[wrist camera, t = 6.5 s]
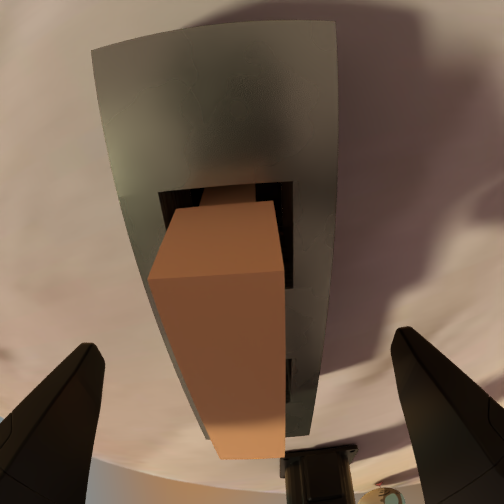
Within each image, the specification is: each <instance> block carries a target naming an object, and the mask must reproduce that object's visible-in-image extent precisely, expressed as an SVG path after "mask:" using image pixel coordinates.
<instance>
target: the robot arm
mask: <svg viewBox="0 0 504 504" xmlns="http://www.w3.org/2000/svg"><path fill="white" fill-rule="evenodd" d="M391 357H392V362H393V367H394V372H395V378H396V383H397V389H398V394H399V399H400V403H401V406H402V410H403V413H404V417H405V420H406V424H407V428H408V431H409V435H410V439H411V443H412V447H413V451H414V455H415V459H416V463H417V468H418V472H419V476H420V481H421V486H422V490H423V495H424V500H425V504H504V408H503V407H502V406H500V405H499V404H498V403H497V402H496V401H495V400H494V399H493V398H492V397H489V395H488V394H487V393H486V392H485V391H484V390H483V389H482V388H481V387H479V386H478V385H477V384H476V383H475V382H474V381H473V380H472V379H471V378H469V377H468V376H467V375H466V374H465V373H464V372H463V371H462V370H460V369H459V368H458V367H457V366H456V365H455V364H454V363H453V362H451V361H450V360H449V359H448V358H447V357H446V356H445V355H443V354H442V353H441V352H440V351H439V350H438V349H437V348H435V347H434V346H433V345H432V344H431V343H430V342H428V341H427V340H426V339H425V338H424V337H423V336H421V335H420V334H419V333H418V332H417V331H416V330H414V329H413V328H412V327H410V326H407V327H400V328H398V329H397V330H396V332H395V335H394V338H393V341H392V344H391ZM104 372H105V361H104V358H103V357H102V355H101V353H100V351H99V350H98V348H97V346H96V345H95V344H94V343H82V344H80V345H79V346H78V347H77V348H76V349H75V350H74V351H73V352H72V353H71V354H70V355H69V356H68V357H66V358H65V359H64V360H63V361H62V362H61V363H60V364H59V365H58V366H57V367H56V368H55V369H54V370H53V371H52V372H51V373H50V374H49V375H48V376H47V377H46V378H45V379H44V380H43V381H42V382H41V383H40V384H39V385H38V386H37V387H36V388H35V389H34V390H33V391H32V392H31V393H30V394H29V395H28V396H27V397H26V398H25V399H24V400H23V401H22V402H21V403H20V404H19V405H18V406H17V407H16V408H15V409H14V410H13V411H12V413H10V414H9V415H8V416H7V417H6V418H5V419H4V420H3V421H2V422H1V423H0V504H85V500H86V492H87V484H88V476H89V470H90V463H91V457H92V451H93V445H94V439H95V434H96V429H97V423H98V418H99V413H100V407H101V399H102V389H103V380H104ZM357 451H358V446H357V445H350V446H344V447H338V448H331V449H323V450H315V451H306V452H295V453H285V457H281V458H280V478H285V483H286V499H287V504H355V498H354V491H353V485H352V478H351V472H350V466H349V465H350V464H351V462H352V460H353V458H354V457H355V455H356V453H357Z"/></svg>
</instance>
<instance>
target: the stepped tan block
mask: <svg viewBox="0 0 504 504" xmlns="http://www.w3.org/2000/svg"><path fill="white" fill-rule="evenodd" d="M147 280H148V283H149V286H150V289H151V292H152V295H153V298H154V301H155V304H156V307H157V310H158V312H159V315H160V318H161V321H162V324H163V326H164V329H165V332H166V335H167V337H168V340H169V343H170V345H171V348H172V351H173V353H174V356H175V358H176V361H177V363H178V366H179V368H180V371H181V373H182V376H183V378H184V381H185V383H186V385H187V388H188V390H189V392H190V395H191V397H192V399H193V402H194V404H195V406H196V409H197V411H198V413H199V415H200V417H201V420H202V422H203V424H204V426H205V428H206V431H207V433H208V435H209V437H210V439H211V441H212V443H213V445H214V447H215V449H216V451H217V453H218V456H219V458H220V459H264V458H281V457H285V404H286V345H285V278H284V265H283V259H282V252H281V246H280V240H279V233H278V227H277V221H276V215H275V209H274V203H273V201H262V202H256V190H255V183H253V184H239V185H226V186H214V187H205V189H204V192H203V195H202V198H201V202H200V205H199V207H189V208H179V209H176V210H175V213H174V215H173V217H172V220H171V222H170V224H169V227H168V229H167V231H166V234H165V236H164V239H163V241H162V243H161V246H160V248H159V251H158V253H157V256H156V258H155V261H154V263H153V266H152V268H151V271H150V274H149V276H148V279H147Z"/></svg>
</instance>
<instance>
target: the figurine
mask: <svg viewBox="0 0 504 504" xmlns="http://www.w3.org/2000/svg"><path fill="white" fill-rule="evenodd" d="M382 483H383V482H381V483H378V484H376V485H378V486H380V485H381V484H382ZM358 504H405V499H404V497H403V495H402V494H401V493H400V492H399V491H397V490H395V489H392V488H378V489H374V490H372V491H370V492H368V493H366V494H365V495H364V496H363V497H362V498H361V499H360V500H359V502H358Z"/></svg>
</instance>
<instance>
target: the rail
mask: <svg viewBox="0 0 504 504" xmlns="http://www.w3.org/2000/svg"><path fill="white" fill-rule="evenodd" d="M91 55H92V63H93V71H94V78H95V85H96V91H97V98H98V104H99V110H100V115H101V121H102V126H103V131H104V137H105V142H106V146H107V151H108V156H109V160H110V165H111V169H112V174H113V178H114V182H115V186H116V190H117V194H118V198H119V202H120V206H121V210H122V214H123V217H124V221H125V225H126V228H127V232H128V235H129V239H130V242H131V246H132V249H133V252H134V256H135V259H136V262H137V265H138V269H139V272H140V275H141V278H142V281H143V284H144V287H145V290H146V293H147V296H148V299H149V302H150V305H151V308H152V310H153V313H154V316H155V319H156V322H157V324H158V327H159V330H160V332H161V335H162V338H163V340H164V343H165V346H166V348H167V351H168V353H169V356H170V358H171V361H172V363H173V366H174V368H175V371H176V373H177V376H178V378H179V380H180V383H181V385H182V387H183V390H184V392H185V394H186V397H187V399H188V401H189V403H190V406H191V408H192V410H193V412H194V414H195V417H196V419H197V421H198V423H199V425H200V427H201V429H202V432H203V434H204V436H205V438H206V439H208V440H211V439H210V437H209V435H208V433H207V431H206V428H205V426H204V424H203V422H202V420H201V417H200V415H199V413H198V411H197V409H196V406H195V404H194V402H193V399H192V397H191V395H190V392H189V390H188V388H187V385H186V383H185V381H184V378H183V376H182V373H181V371H180V368H179V366H178V363H177V361H176V358H175V356H174V353H173V351H172V348H171V345H170V343H169V340H168V337H167V335H166V332H165V329H164V326H163V324H162V321H161V318H160V315H159V312H158V310H157V307H156V304H155V301H154V298H153V295H152V292H151V289H150V286H149V283H148V280H147V279H148V276H149V274H150V271H151V268H152V266H153V263H154V261H155V258H156V256H157V253H158V251H159V248H160V246H161V243H162V241H163V239H164V236H165V234H166V231H167V229H168V227H169V224H170V222H171V220H172V217H173V215H174V213H175V210H176V209H179V208H189V207H193V204H192V198H191V192H190V189H192V188H203V187H214V186H226V185H239V184H253V183H268V182H281V205H282V227H278V233H279V240H280V246H281V252H282V259H283V265H284V278H285V345H286V404H285V437H295V436H305V435H309V433H310V428H311V422H312V417H313V411H314V405H315V399H316V393H317V387H318V380H319V373H320V367H321V360H322V352H323V345H324V337H325V329H326V320H327V312H328V302H329V293H330V283H331V272H332V260H333V247H334V233H335V217H336V198H337V173H338V64H337V40H336V23H335V21H320V20H265V21H247V22H234V23H223V24H214V25H206V26H198V27H192V28H185V29H179V30H173V31H168V32H163V33H157V34H153V35H148V36H143V37H139V38H135V39H131V40H127V41H123V42H119V43H115V44H112V45H108V46H105V47H101V48H98V49H95V50H91Z"/></svg>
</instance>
